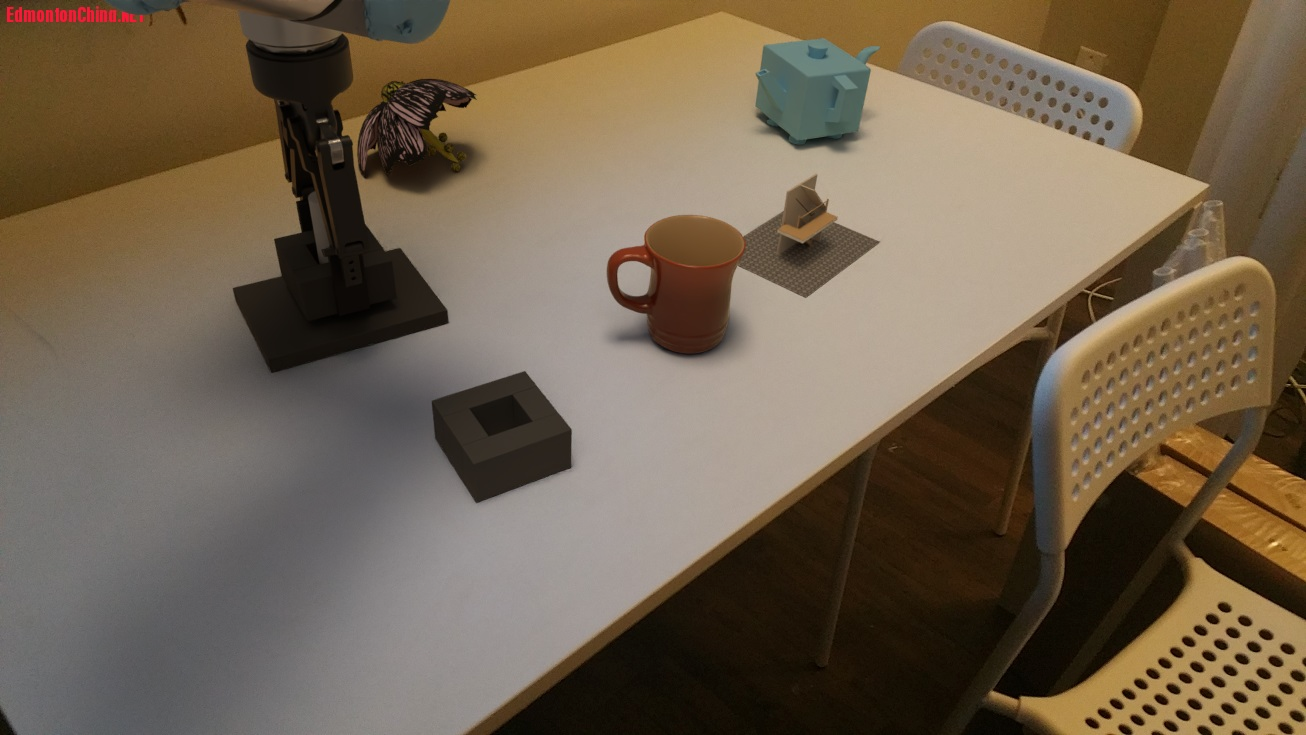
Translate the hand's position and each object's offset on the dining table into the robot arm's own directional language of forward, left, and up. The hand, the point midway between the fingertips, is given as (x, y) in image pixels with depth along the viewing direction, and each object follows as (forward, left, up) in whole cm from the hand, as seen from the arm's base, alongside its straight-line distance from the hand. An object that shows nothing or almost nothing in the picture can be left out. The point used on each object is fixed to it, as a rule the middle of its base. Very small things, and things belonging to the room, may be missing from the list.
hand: (337, 284), depth 89 cm
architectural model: (+46, -10, -3) cm, 47 cm away
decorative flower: (+17, +24, -3) cm, 30 cm away
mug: (+25, -17, -3) cm, 30 cm away
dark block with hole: (0, 0, 0) cm, 0 cm away
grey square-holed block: (+5, -24, -3) cm, 25 cm away
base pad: (0, 0, -3) cm, 3 cm away
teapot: (+66, +13, -3) cm, 67 cm away
